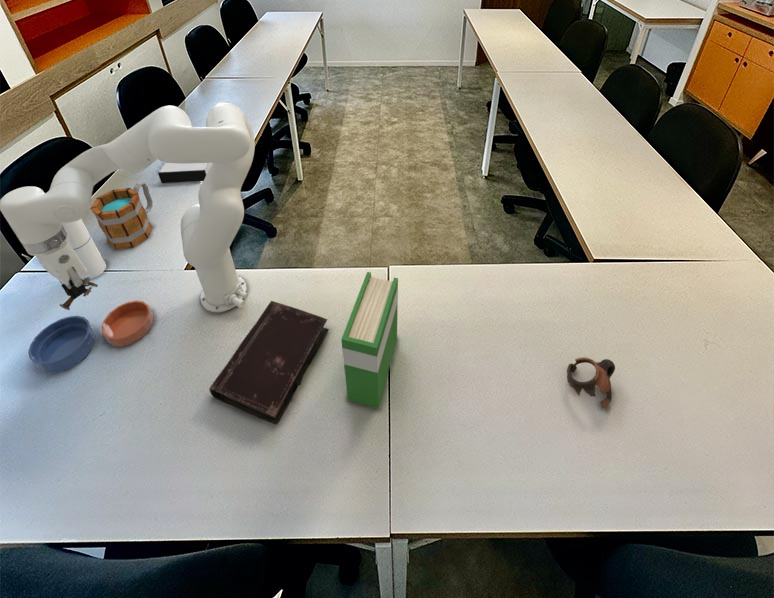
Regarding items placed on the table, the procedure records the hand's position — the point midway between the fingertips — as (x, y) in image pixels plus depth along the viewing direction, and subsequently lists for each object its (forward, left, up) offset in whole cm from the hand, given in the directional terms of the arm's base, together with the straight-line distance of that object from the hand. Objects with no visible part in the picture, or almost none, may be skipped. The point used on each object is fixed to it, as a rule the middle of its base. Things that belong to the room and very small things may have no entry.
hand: (77, 293), depth 103 cm
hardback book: (-66, -28, -18) cm, 74 cm away
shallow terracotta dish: (-3, -5, -17) cm, 18 cm away
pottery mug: (-113, -50, -18) cm, 125 cm away
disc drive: (+43, -64, -18) cm, 79 cm away
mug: (+30, -29, -18) cm, 45 cm away
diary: (-44, -17, -18) cm, 51 cm away
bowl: (+5, +7, -17) cm, 19 cm away
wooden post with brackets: (0, 0, -2) cm, 2 cm away
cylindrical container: (+25, -11, -18) cm, 32 cm away
